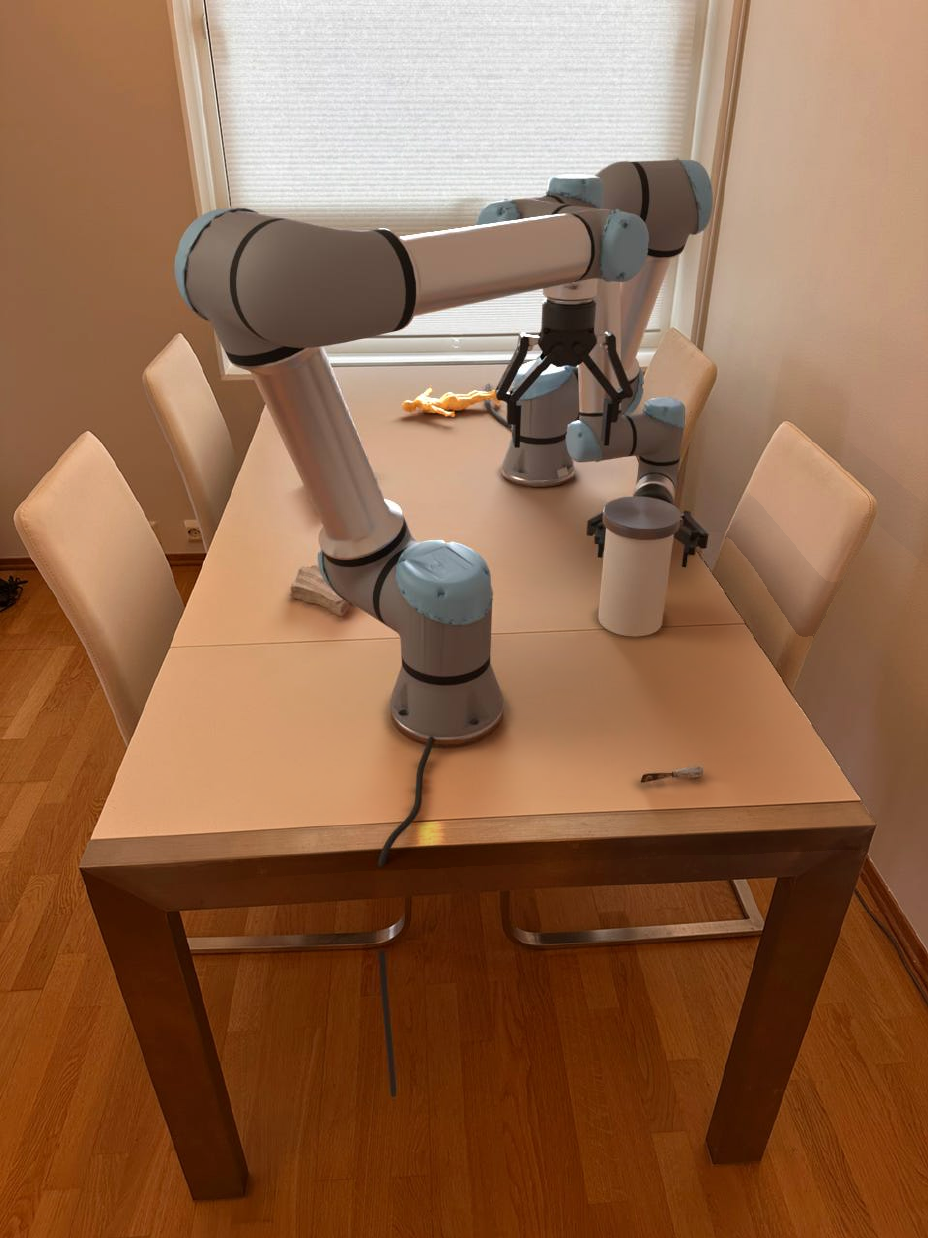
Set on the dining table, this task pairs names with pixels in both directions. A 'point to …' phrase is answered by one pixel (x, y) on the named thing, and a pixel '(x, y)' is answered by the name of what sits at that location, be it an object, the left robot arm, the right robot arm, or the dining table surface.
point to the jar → (634, 584)
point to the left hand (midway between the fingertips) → (560, 443)
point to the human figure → (447, 402)
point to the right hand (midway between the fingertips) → (642, 555)
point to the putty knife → (674, 774)
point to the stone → (317, 591)
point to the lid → (641, 518)
